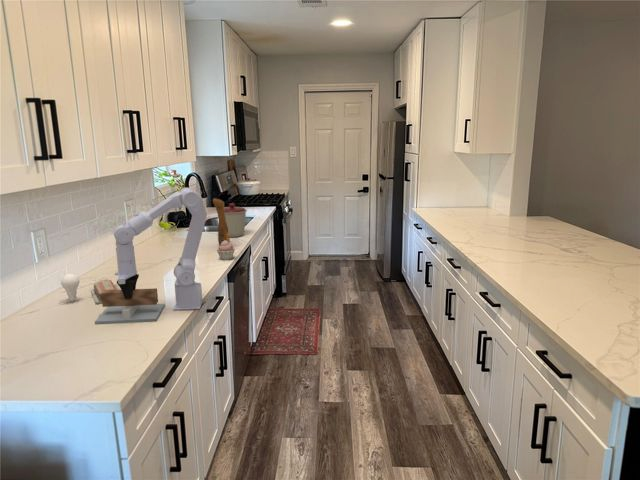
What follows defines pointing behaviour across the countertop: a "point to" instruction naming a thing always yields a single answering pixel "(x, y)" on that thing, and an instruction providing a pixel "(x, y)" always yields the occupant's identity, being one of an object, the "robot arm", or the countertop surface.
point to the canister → (235, 220)
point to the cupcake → (225, 251)
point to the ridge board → (139, 314)
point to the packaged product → (102, 289)
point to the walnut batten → (138, 298)
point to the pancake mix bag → (221, 221)
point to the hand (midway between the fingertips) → (129, 296)
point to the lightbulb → (70, 285)
